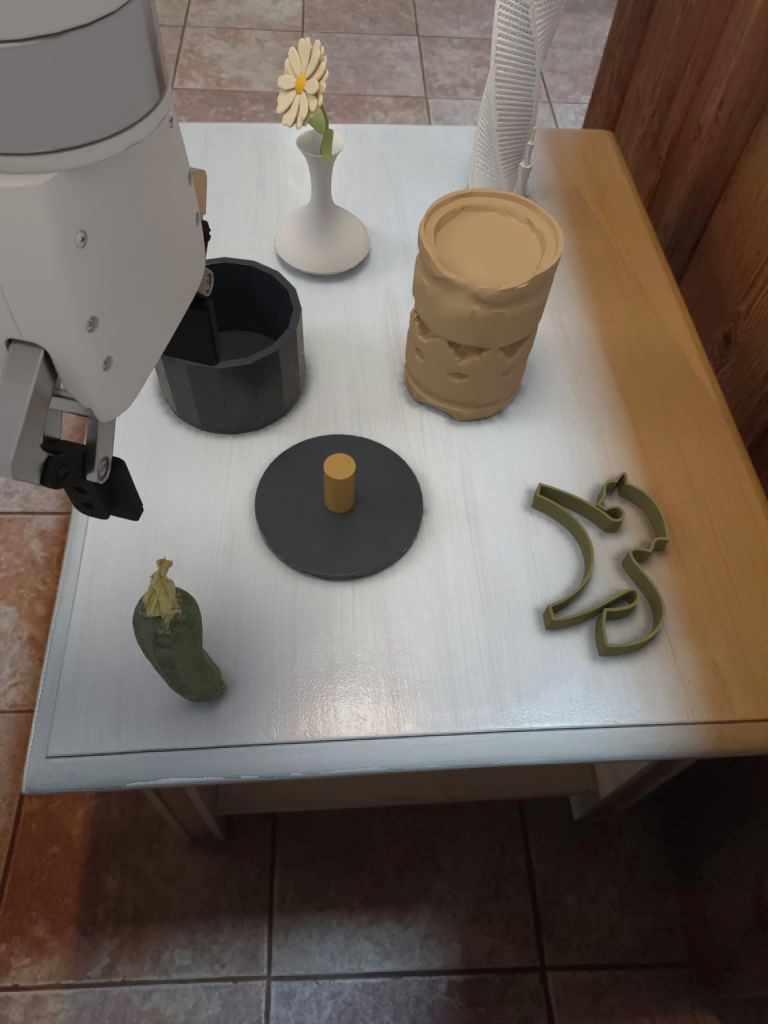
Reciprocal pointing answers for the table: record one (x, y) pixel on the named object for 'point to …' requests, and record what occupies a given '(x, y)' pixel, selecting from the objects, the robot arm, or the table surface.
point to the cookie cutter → (608, 521)
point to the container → (478, 299)
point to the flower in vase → (315, 174)
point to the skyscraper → (512, 93)
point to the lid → (338, 506)
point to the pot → (242, 353)
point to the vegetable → (175, 638)
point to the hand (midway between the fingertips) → (154, 427)
